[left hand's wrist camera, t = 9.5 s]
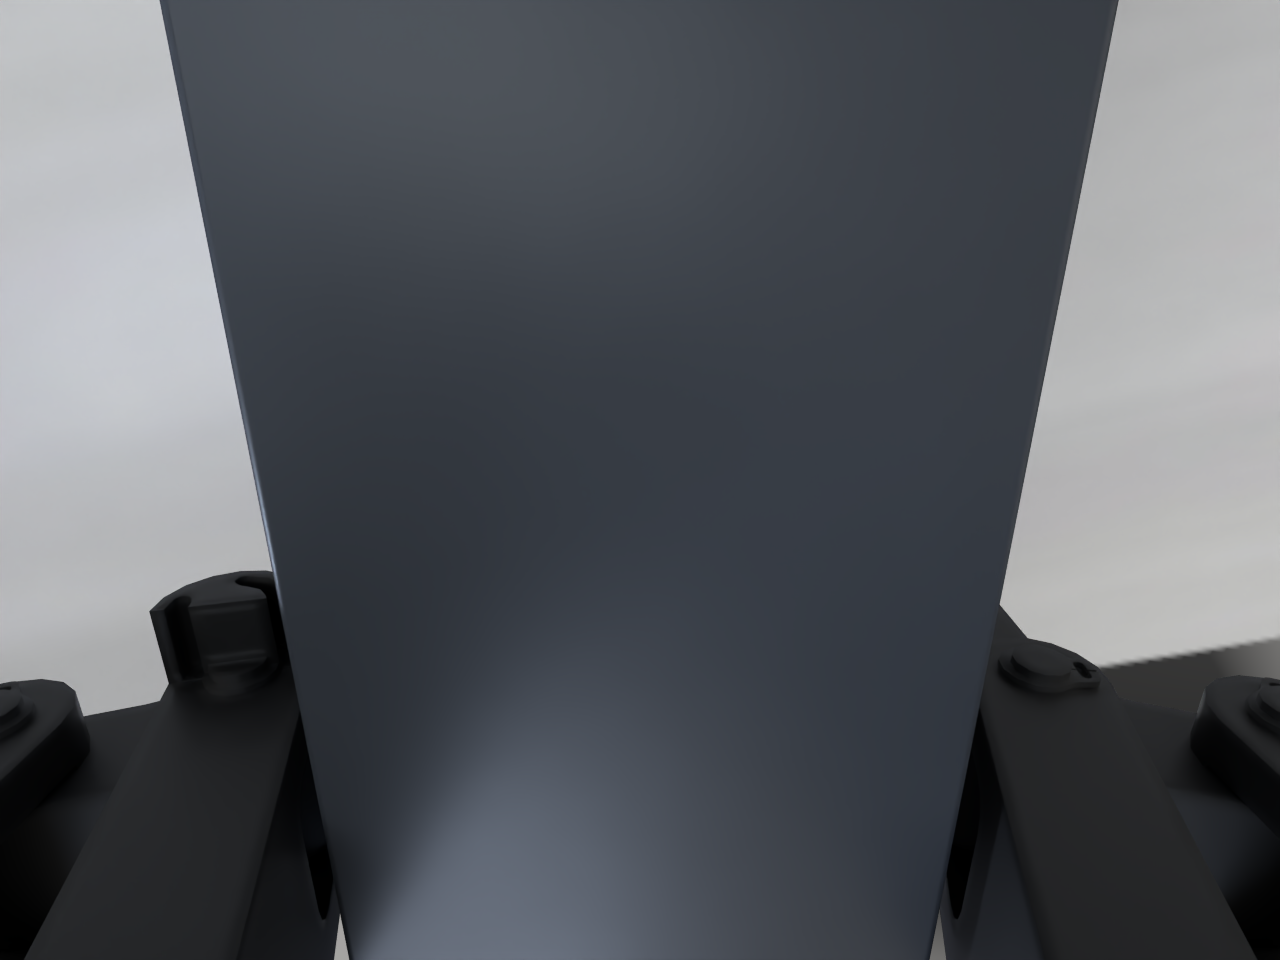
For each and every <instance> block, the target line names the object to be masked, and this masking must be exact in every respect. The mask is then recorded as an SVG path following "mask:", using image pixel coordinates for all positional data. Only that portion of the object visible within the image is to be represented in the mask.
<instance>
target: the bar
mask: <svg viewBox="0 0 1280 960" xmlns="http://www.w3.org/2000/svg"><path fill="white" fill-rule="evenodd" d="M1118 1H1119V0H160V4H161V9H162V15H163V20H164V25H165V30H166V35H167V40H168V45H169V50H170V55H171V60H172V65H173V70H174V75H175V80H176V85H177V90H178V95H179V101H180V106H181V111H182V116H183V121H184V126H185V131H186V136H187V141H188V146H189V151H190V156H191V161H192V166H193V171H194V176H195V181H196V186H197V192H198V197H199V202H200V207H201V212H202V217H203V222H204V227H205V232H206V237H207V242H208V247H209V252H210V257H211V262H212V267H213V272H214V278H215V283H216V288H217V293H218V298H219V303H220V308H221V313H222V318H223V323H224V328H225V333H226V338H227V343H228V348H229V353H230V358H231V363H232V369H233V374H234V379H235V384H236V389H237V394H238V399H239V404H240V409H241V414H242V419H243V424H244V429H245V434H246V439H247V444H248V449H249V455H250V460H251V465H252V470H253V475H254V480H255V485H256V490H257V495H258V500H259V505H260V510H261V515H262V520H263V525H264V530H265V535H266V540H267V546H268V551H269V556H270V561H271V566H272V571H273V576H274V581H275V586H276V591H277V596H278V601H279V606H280V611H281V616H282V621H283V626H284V632H285V637H286V642H287V647H288V652H289V657H290V662H291V667H292V672H293V677H294V682H295V687H296V692H297V697H298V702H299V707H300V712H301V718H302V723H303V728H304V733H305V738H306V743H307V748H308V753H309V758H310V763H311V768H312V773H313V778H314V783H315V788H316V793H317V798H318V803H319V809H320V814H321V819H322V824H323V829H324V834H325V839H326V844H327V849H328V854H329V859H330V864H331V869H332V874H333V879H334V884H335V889H336V894H337V900H338V905H339V910H340V915H341V920H342V925H343V930H344V935H345V940H346V945H347V950H348V955H349V960H929V959H930V954H931V949H932V944H933V939H934V934H935V929H936V924H937V919H938V914H939V909H940V903H941V898H942V893H943V888H944V883H945V878H946V873H947V868H948V863H949V858H950V853H951V848H952V843H953V838H954V832H955V827H956V822H957V817H958V812H959V807H960V802H961V797H962V792H963V787H964V782H965V777H966V772H967V767H968V761H969V756H970V751H971V746H972V741H973V736H974V731H975V726H976V721H977V716H978V711H979V706H980V701H981V696H982V690H983V685H984V680H985V675H986V670H987V665H988V660H989V655H990V650H991V645H992V640H993V635H994V630H995V625H996V619H997V614H998V609H999V604H1000V599H1001V594H1002V589H1003V584H1004V579H1005V574H1006V569H1007V564H1008V559H1009V554H1010V548H1011V543H1012V538H1013V533H1014V528H1015V523H1016V518H1017V513H1018V508H1019V503H1020V498H1021V493H1022V488H1023V483H1024V477H1025V472H1026V467H1027V462H1028V457H1029V452H1030V447H1031V442H1032V437H1033V432H1034V427H1035V422H1036V417H1037V412H1038V406H1039V401H1040V396H1041V391H1042V386H1043V381H1044V376H1045V371H1046V366H1047V361H1048V356H1049V351H1050V346H1051V341H1052V335H1053V330H1054V325H1055V320H1056V315H1057V310H1058V305H1059V300H1060V295H1061V290H1062V285H1063V280H1064V275H1065V270H1066V264H1067V259H1068V254H1069V249H1070V244H1071V239H1072V234H1073V229H1074V224H1075V219H1076V214H1077V209H1078V204H1079V199H1080V193H1081V188H1082V183H1083V178H1084V173H1085V168H1086V163H1087V158H1088V153H1089V148H1090V143H1091V138H1092V133H1093V128H1094V122H1095V117H1096V112H1097V107H1098V102H1099V97H1100V92H1101V87H1102V82H1103V77H1104V72H1105V67H1106V62H1107V56H1108V51H1109V46H1110V41H1111V36H1112V31H1113V26H1114V21H1115V16H1116V11H1117V6H1118Z"/></svg>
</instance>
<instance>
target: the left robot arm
mask: <svg viewBox="0 0 1280 960" xmlns="http://www.w3.org/2000/svg"><path fill="white" fill-rule="evenodd" d="M149 612H150V615H151V619H152V623H153V627H154V630H155V634H156V638H157V641H158V645H159V649H160V652H161V656H162V660H163V664H164V667H165V671H166V675H167V678H168V682H169V685H168V686H167V688H166V690H165V692H164V694H163V696H162V698H161V700H160V701H158V702H154V703H150V704H146V705H141V706H136V707H130V708H125V709H120V710H115V711H110V712H104V713H99V714H94V715H89V716H83V714H82V711H81V708H80V704H79V701H78V698H77V695H76V692H75V691H74V690H73V689H72V688H70V687H69V686H68V685H67V684H65V683H64V682H59V681H52V680H45V679H37V680H28V681H18V682H16V681H14V682H7V683H2V684H0V960H334V955H335V947H336V940H337V932H338V924H339V917H340V910H339V905H338V900H337V894H336V889H335V884H334V879H333V874H332V869H331V864H330V859H329V854H328V849H327V844H326V839H325V834H324V829H323V824H322V819H321V814H320V809H319V803H318V798H317V793H316V788H315V783H314V778H313V773H312V768H311V763H310V758H309V753H308V748H307V743H306V738H305V733H304V728H303V723H302V718H301V712H300V707H299V702H298V697H297V692H296V687H295V682H294V677H293V672H292V667H291V662H290V657H289V652H288V647H287V642H286V637H285V632H284V626H283V621H282V616H281V611H280V606H279V601H278V596H277V591H276V586H275V581H274V576H273V572H270V571H239V572H233V573H228V574H222V575H217V576H212V577H209V578H206V579H203V580H200V581H198V582H195V583H192V584H189V585H186V586H184V587H182V588H180V589H179V590H177V591H175V592H173V593H171V594H169V595H168V596H166V597H164V598H163V599H162V600H161V601H160V602H159V603H158V604H157V605H155V606H154V607H153V608H152V609H151V610H150V611H149ZM940 915H941V922H942V930H943V938H944V945H945V953H946V960H1280V680H1277V679H1273V678H1260V677H1250V676H1241V675H1238V676H1230V677H1223V678H1217V679H1216V680H1214V681H1213V682H1212V683H1210V684H1209V685H1208V686H1206V687H1205V690H1204V693H1203V696H1202V699H1201V702H1200V705H1199V708H1198V711H1197V713H1195V712H1189V711H1184V710H1179V709H1174V708H1168V707H1163V706H1158V705H1152V704H1147V703H1142V702H1137V701H1132V700H1128V699H1124V698H1120V697H1118V695H1117V693H1116V691H1115V689H1114V687H1113V685H1112V683H1111V682H1110V681H1109V680H1108V678H1107V677H1106V676H1105V675H1104V674H1103V673H1102V671H1101V670H1100V669H1099V668H1098V667H1097V666H1095V665H1094V664H1092V663H1091V662H1089V661H1088V660H1086V659H1084V658H1083V657H1081V656H1080V655H1078V654H1077V653H1074V652H1072V651H1069V650H1067V649H1064V648H1062V647H1059V646H1057V645H1054V644H1052V643H1047V642H1043V641H1038V640H1033V639H1029V638H1027V637H1026V636H1025V635H1024V633H1023V632H1022V631H1021V630H1020V629H1019V627H1018V626H1017V625H1016V624H1015V623H1014V621H1013V620H1012V619H1011V618H1010V617H1009V615H1008V614H1007V613H1006V612H1005V611H1004V609H1003V608H1002V607H1001V606H1000V605H999V609H998V614H997V619H996V625H995V630H994V635H993V640H992V645H991V650H990V655H989V660H988V665H987V670H986V675H985V680H984V685H983V690H982V696H981V701H980V706H979V711H978V716H977V721H976V726H975V731H974V736H973V741H972V746H971V751H970V756H969V761H968V767H967V772H966V777H965V782H964V787H963V792H962V797H961V802H960V807H959V812H958V817H957V822H956V827H955V832H954V838H953V843H952V848H951V853H950V858H949V863H948V868H947V873H946V878H945V883H944V888H943V893H942V898H941V903H940Z"/></svg>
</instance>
